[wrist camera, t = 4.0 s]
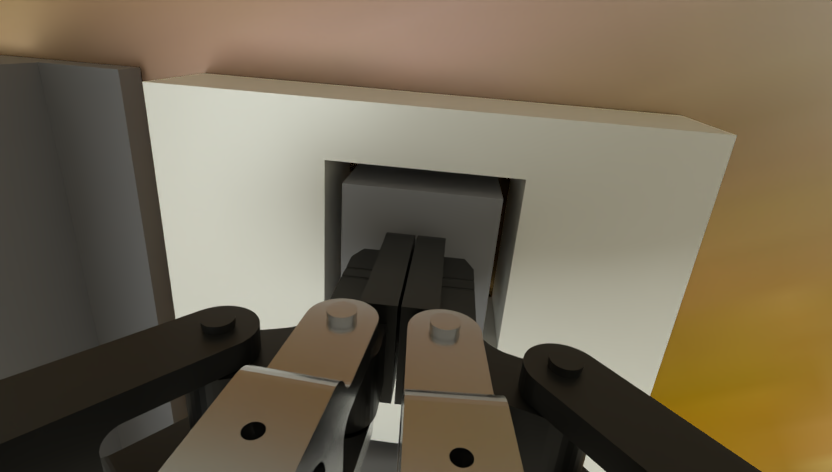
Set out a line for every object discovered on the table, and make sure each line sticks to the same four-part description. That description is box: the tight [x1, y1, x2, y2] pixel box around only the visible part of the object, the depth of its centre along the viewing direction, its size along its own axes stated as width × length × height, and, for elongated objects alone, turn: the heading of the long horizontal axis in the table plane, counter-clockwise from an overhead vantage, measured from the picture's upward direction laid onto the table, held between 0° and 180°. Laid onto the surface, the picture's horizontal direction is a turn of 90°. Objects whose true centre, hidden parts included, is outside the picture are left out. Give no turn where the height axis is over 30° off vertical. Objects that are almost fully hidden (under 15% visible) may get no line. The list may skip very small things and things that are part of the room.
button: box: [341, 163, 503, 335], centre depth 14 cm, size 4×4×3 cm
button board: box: [142, 73, 737, 472], centre depth 18 cm, size 26×14×3 cm, turn 176°
